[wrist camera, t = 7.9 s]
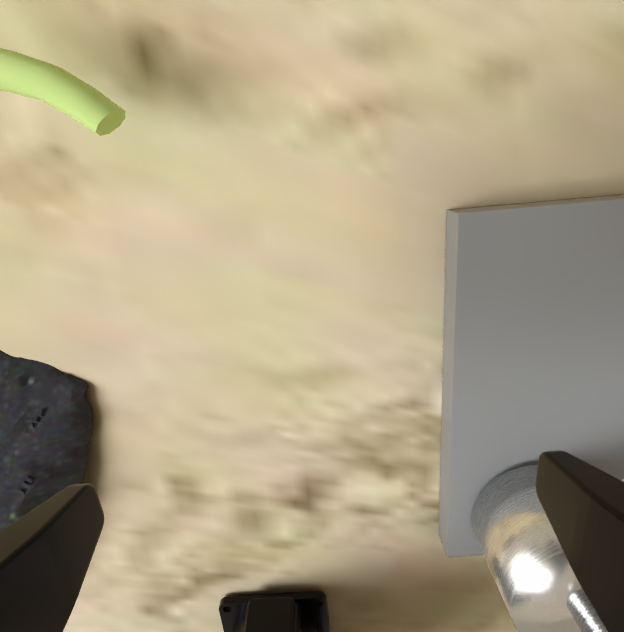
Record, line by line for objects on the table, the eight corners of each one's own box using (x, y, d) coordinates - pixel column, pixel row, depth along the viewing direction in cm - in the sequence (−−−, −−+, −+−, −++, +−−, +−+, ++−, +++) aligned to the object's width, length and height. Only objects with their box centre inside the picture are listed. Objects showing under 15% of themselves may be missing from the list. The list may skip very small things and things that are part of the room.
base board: (726, 515, 22) (754, 538, 21) (438, 533, 23) (447, 557, 22) (838, 175, 16) (888, 175, 15) (446, 209, 17) (458, 213, 16)
